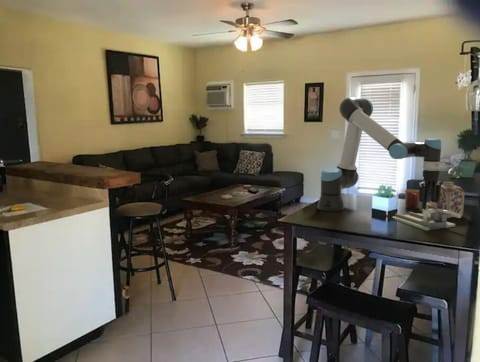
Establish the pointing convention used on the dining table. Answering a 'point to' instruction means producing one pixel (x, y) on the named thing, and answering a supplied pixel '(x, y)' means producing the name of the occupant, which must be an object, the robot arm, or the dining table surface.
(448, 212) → the white arched piece
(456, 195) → the decorative jar
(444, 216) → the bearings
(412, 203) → the mug
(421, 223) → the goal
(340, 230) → the dining table surface
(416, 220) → the pitch
